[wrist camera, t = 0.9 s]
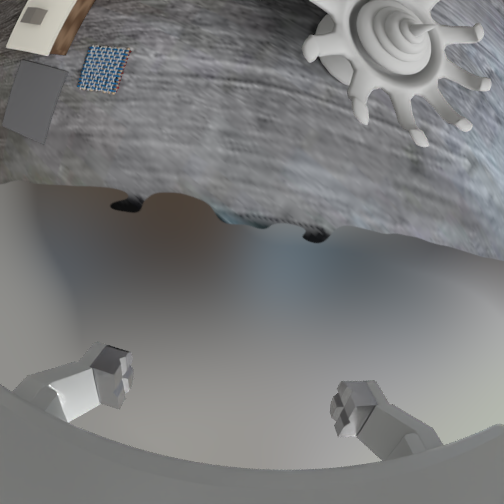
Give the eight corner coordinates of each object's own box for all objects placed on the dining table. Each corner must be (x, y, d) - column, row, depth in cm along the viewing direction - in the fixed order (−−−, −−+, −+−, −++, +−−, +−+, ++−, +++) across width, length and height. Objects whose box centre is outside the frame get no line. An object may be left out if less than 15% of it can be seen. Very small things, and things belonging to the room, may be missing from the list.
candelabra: (361, 159, 53) (437, 209, 29) (234, 42, 40) (227, -11, 17) (448, 72, 40) (536, 81, 17) (344, -41, 28) (400, -96, 4)
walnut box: (55, -7, 26) (39, -12, 20) (97, -3, 30) (82, -11, 24) (27, 46, 32) (10, 45, 26) (65, 55, 37) (47, 53, 31)
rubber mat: (22, 59, 34) (21, 59, 34) (68, 72, 39) (67, 72, 39) (3, 125, 42) (2, 125, 41) (44, 144, 47) (43, 145, 46)
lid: (42, -13, 21) (26, -18, 15) (87, -11, 25) (72, -19, 20) (11, 47, 28) (-6, 47, 22) (51, 56, 32) (33, 54, 27)
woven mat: (92, 45, 37) (87, 43, 35) (133, 48, 39) (130, 47, 38) (78, 89, 42) (73, 89, 40) (118, 95, 44) (114, 95, 42)
